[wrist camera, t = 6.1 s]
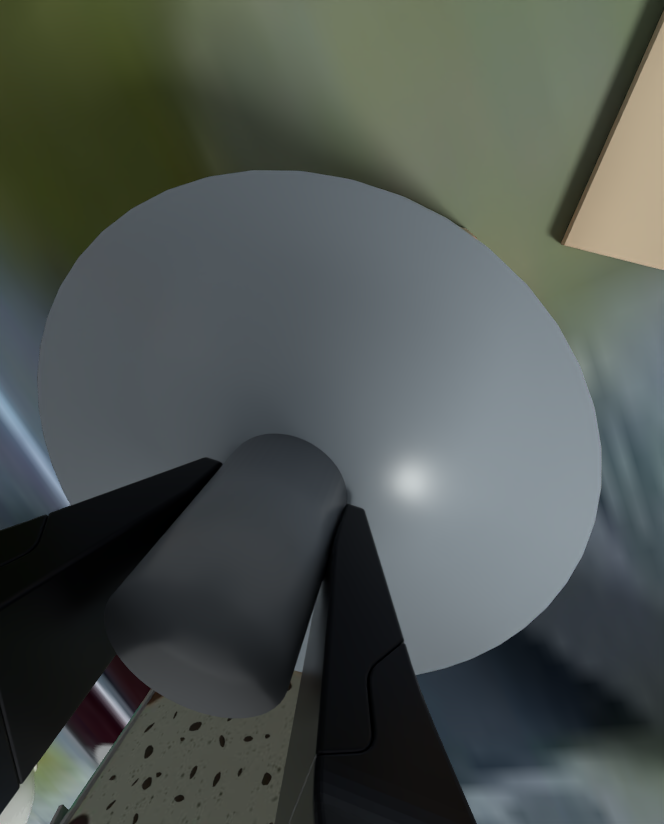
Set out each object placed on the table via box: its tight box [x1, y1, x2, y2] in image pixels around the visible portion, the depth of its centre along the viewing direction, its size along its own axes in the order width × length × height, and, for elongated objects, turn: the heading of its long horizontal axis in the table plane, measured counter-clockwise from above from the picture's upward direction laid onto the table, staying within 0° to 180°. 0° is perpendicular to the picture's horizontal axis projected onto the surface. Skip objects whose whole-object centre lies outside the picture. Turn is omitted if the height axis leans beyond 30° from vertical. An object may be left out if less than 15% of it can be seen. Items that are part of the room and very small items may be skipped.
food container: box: [50, 671, 302, 824], centre depth 18 cm, size 12×6×10 cm, turn 113°
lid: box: [37, 170, 601, 718], centre depth 8 cm, size 12×12×5 cm
